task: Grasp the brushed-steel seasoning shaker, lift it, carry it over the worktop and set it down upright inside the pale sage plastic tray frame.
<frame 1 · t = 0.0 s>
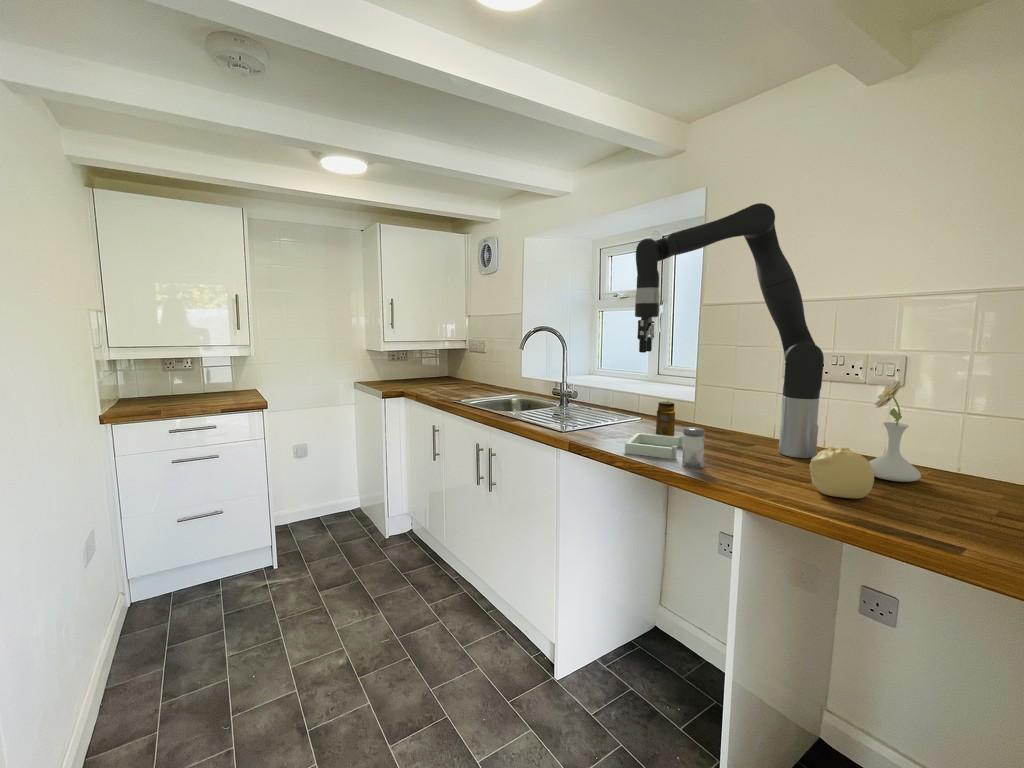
hand: (645, 351, 157), 29 cm above the table, fingers open, 8 cm apart
shaker: (692, 466, 128), on the table
flower in vase: (889, 479, 118), on the table
cream rounded lump: (838, 495, 107), on the table
tray: (655, 450, 145), on the table
condiment: (663, 437, 163), on the table
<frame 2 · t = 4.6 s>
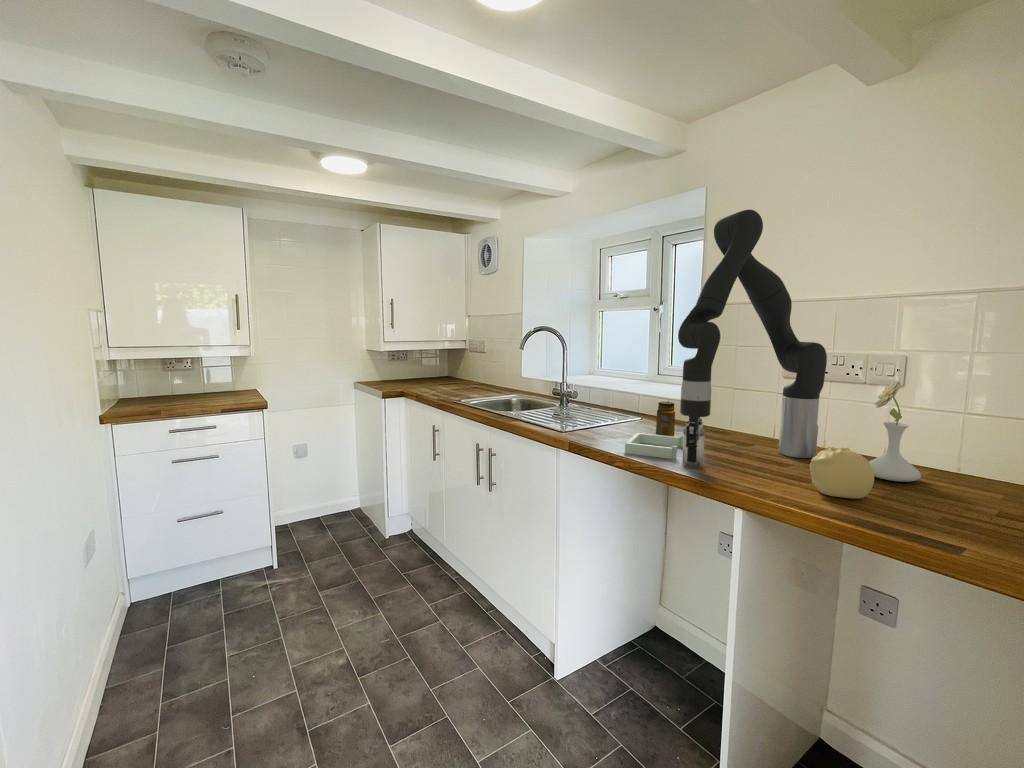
hand: (692, 459, 128), 2 cm above the table, fingers closed on shaker, 5 cm apart
shaker: (692, 466, 128), on the table, touching gripper
everything else where it was.
when the fingers open (3 cm above the table, at t = 9.4 s): shaker drops 1 cm, resting in tray.
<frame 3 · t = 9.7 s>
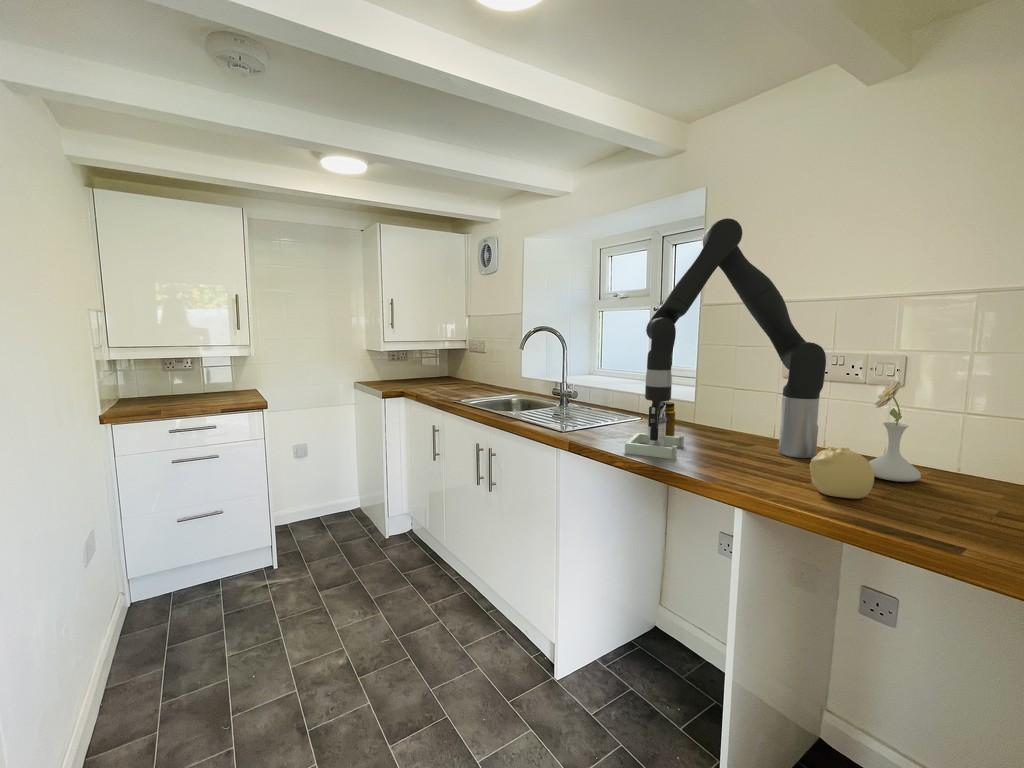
hand: (656, 437, 145), 4 cm above the table, fingers open, 7 cm apart
shaker: (655, 450, 145), resting in tray
everything else where it was.
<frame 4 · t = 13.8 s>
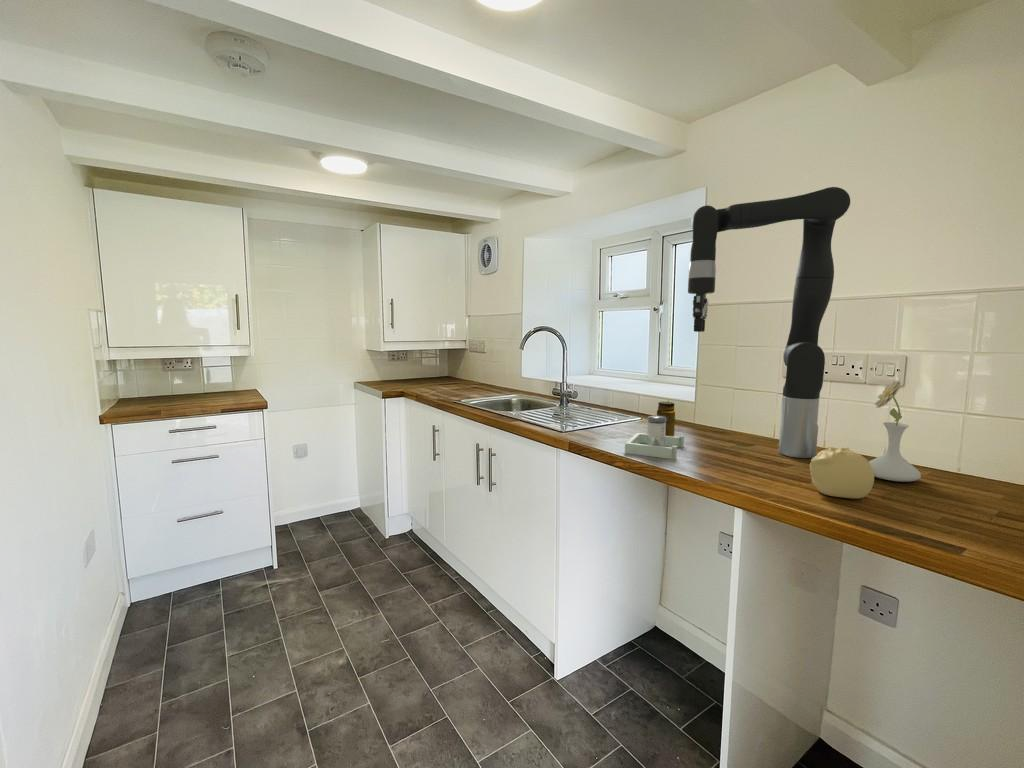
hand: (699, 331, 144), 36 cm above the table, fingers open, 8 cm apart
nothing on the table moved.
at the end: shaker inside the target area on the tray (0.5 cm from its centre), point 0.0 cm above the tray's base; shaker tilted 1°; the gripper is holding nothing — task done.
